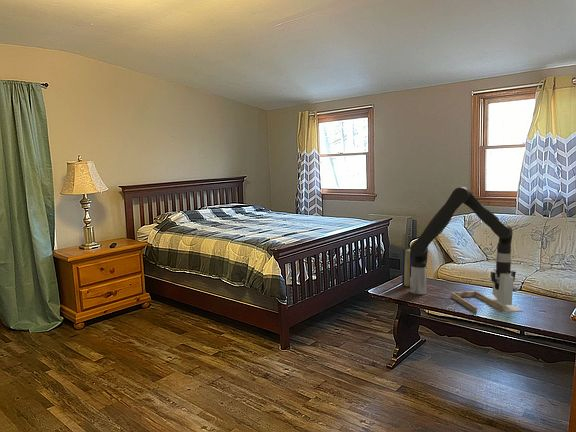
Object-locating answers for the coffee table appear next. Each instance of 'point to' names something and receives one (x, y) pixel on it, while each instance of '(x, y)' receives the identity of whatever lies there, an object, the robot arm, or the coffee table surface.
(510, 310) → the beige flat board
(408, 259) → the book
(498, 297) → the skincare box
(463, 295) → the wooden u-shaped frame
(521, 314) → the coffee table surface
